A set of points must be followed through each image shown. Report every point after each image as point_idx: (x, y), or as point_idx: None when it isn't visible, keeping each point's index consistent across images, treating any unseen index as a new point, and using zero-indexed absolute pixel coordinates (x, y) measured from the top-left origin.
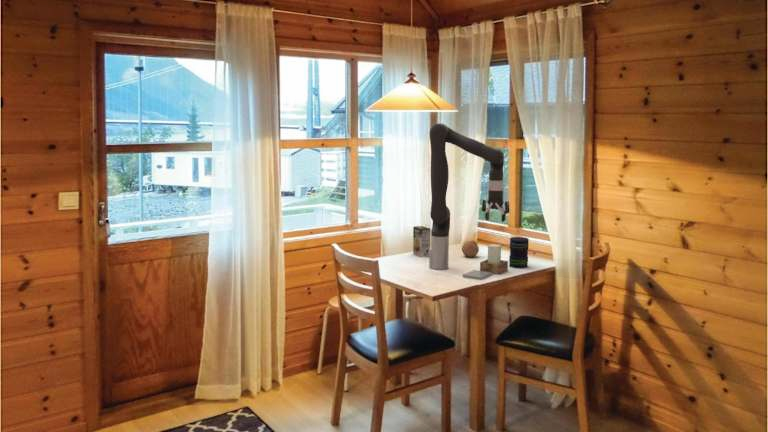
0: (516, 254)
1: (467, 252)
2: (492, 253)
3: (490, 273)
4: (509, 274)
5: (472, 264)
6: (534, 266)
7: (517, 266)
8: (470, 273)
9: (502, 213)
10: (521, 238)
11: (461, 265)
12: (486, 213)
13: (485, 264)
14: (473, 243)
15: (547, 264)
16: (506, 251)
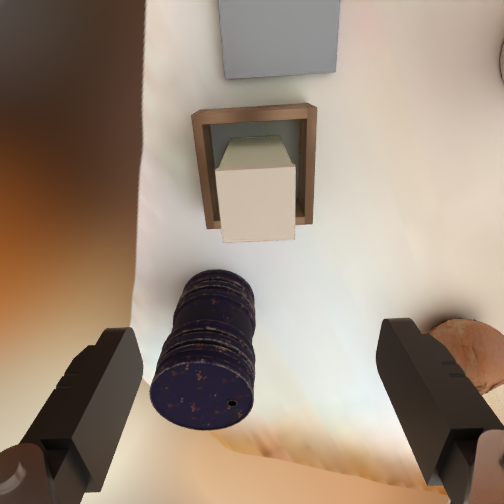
0: (202, 307)
1: (468, 322)
2: (254, 157)
3: (223, 56)
4: (165, 148)
5: (398, 222)
6: (170, 326)
7: (203, 276)
8: None
9: (26, 465)
10: (200, 410)
11: (442, 173)
12: (472, 422)
13: (281, 108)
14: (468, 375)
15: (154, 369)
16: (351, 438)
